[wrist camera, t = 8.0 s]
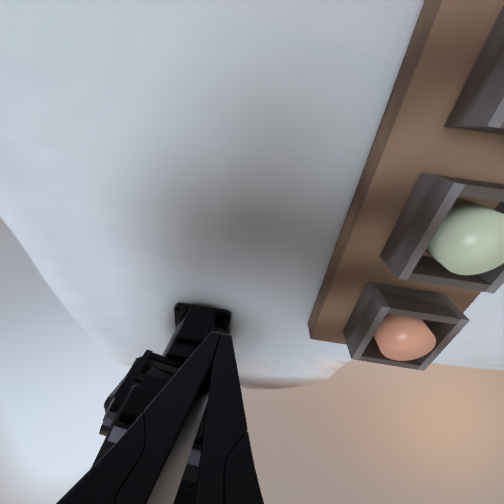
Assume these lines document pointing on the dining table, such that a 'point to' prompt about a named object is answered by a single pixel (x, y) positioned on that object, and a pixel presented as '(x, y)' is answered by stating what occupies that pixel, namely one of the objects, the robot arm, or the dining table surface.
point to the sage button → (469, 239)
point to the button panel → (422, 185)
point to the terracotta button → (404, 338)
